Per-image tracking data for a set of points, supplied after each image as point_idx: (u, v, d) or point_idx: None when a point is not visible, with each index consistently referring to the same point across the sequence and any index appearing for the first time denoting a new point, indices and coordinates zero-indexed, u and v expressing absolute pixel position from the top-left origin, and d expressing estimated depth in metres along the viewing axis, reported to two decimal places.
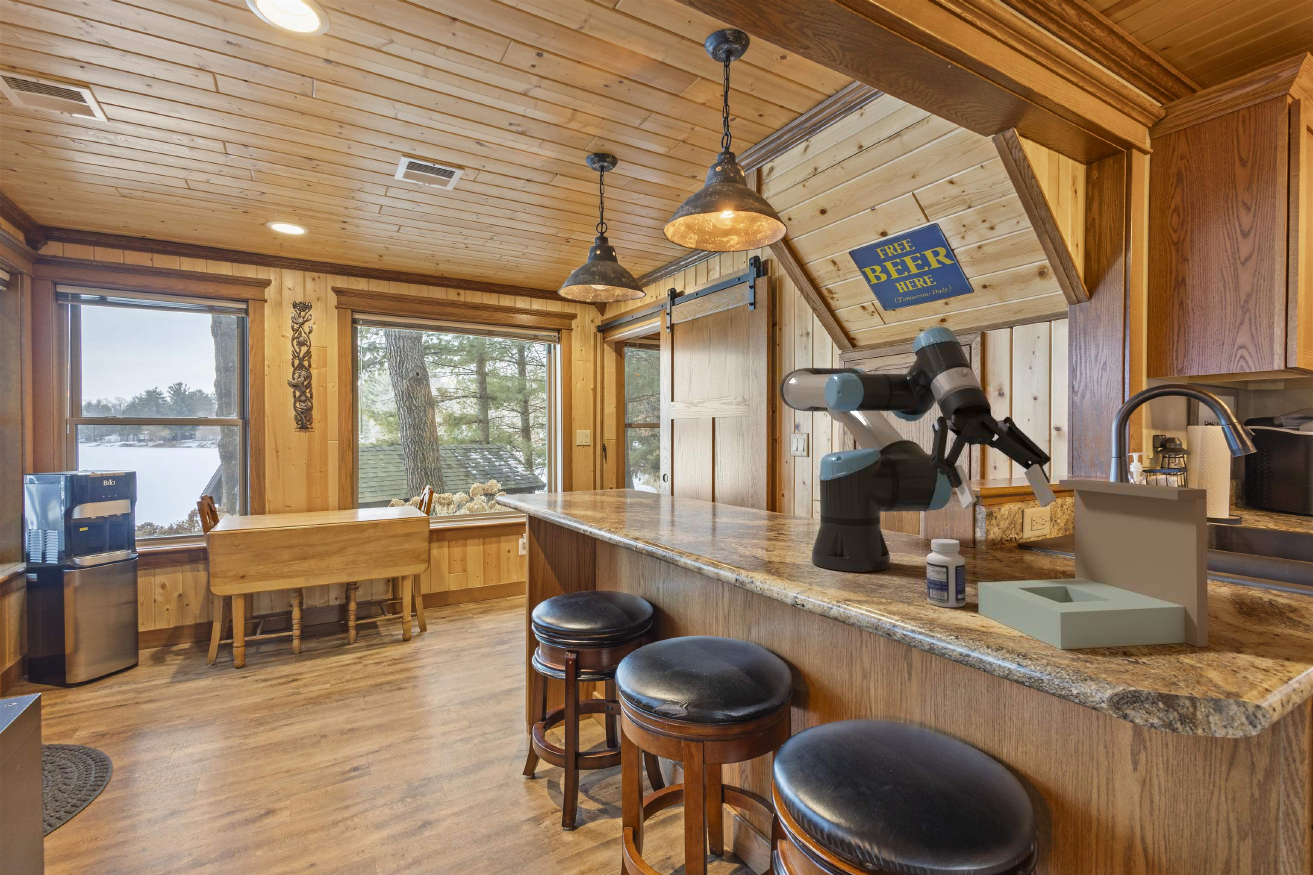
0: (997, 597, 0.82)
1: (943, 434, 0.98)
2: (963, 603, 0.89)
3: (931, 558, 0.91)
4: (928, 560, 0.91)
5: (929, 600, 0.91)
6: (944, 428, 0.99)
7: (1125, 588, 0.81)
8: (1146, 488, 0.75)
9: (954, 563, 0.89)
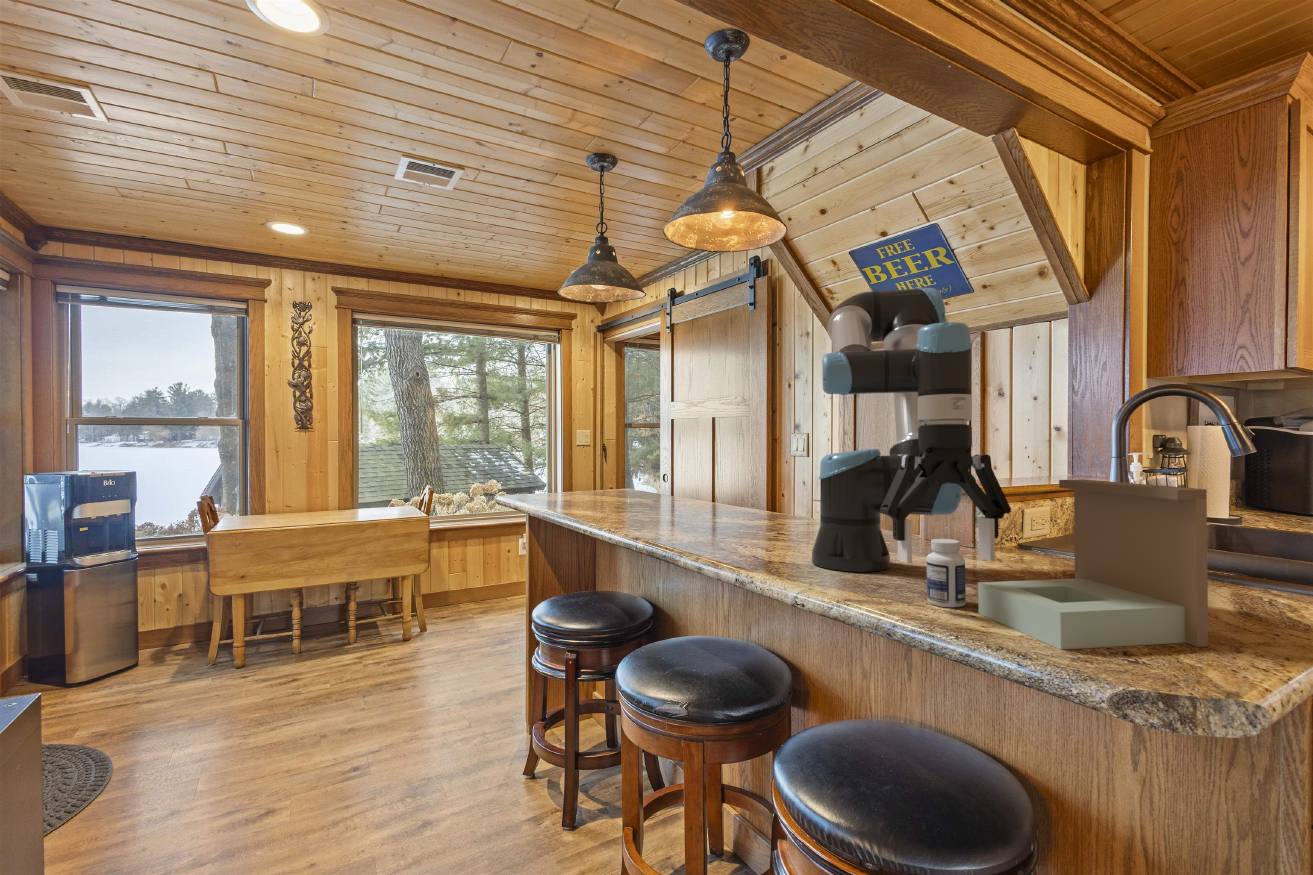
0: (997, 597, 0.82)
1: (905, 480, 0.89)
2: (963, 603, 0.89)
3: (931, 558, 0.91)
4: (928, 560, 0.91)
5: (929, 600, 0.91)
6: (909, 471, 0.89)
7: (1125, 588, 0.81)
8: (1146, 488, 0.75)
9: (954, 563, 0.89)
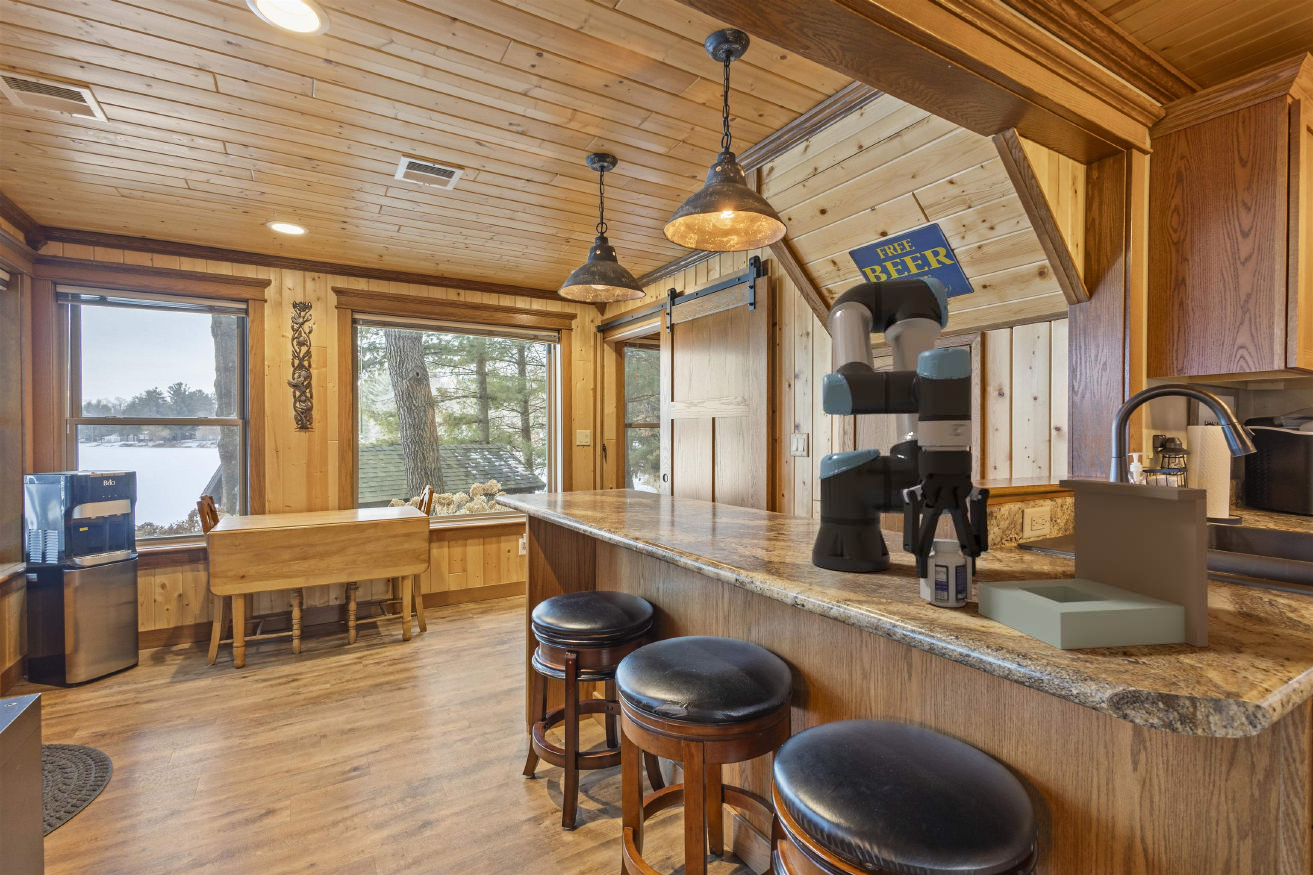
0: (997, 597, 0.82)
1: (915, 515, 0.89)
2: (963, 603, 0.89)
3: None
4: None
5: None
6: (916, 505, 0.89)
7: (1125, 588, 0.81)
8: (1146, 488, 0.75)
9: (954, 563, 0.89)
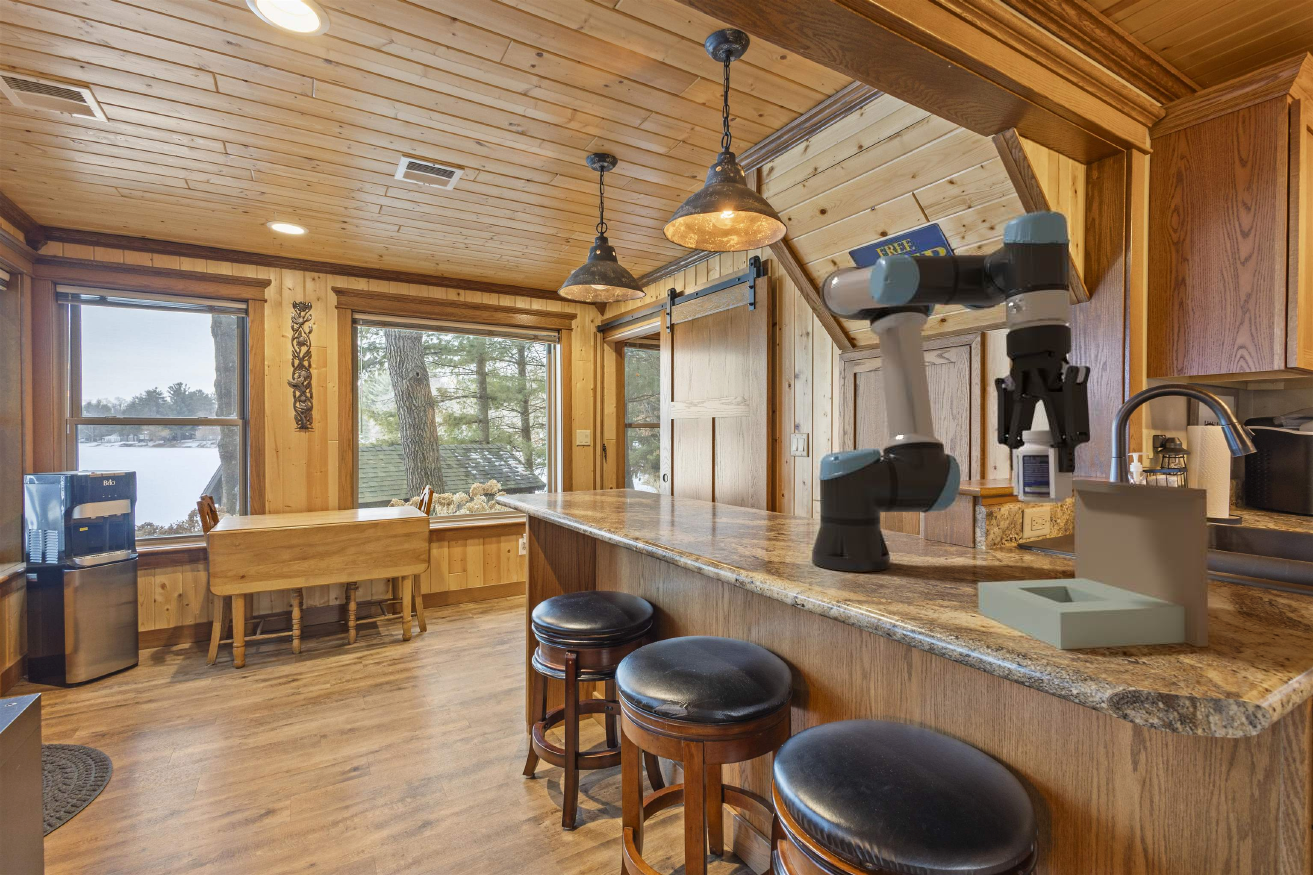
0: (997, 597, 0.82)
1: (1000, 404, 0.86)
2: (1034, 498, 0.79)
3: None
4: None
5: None
6: (1000, 394, 0.86)
7: (1125, 588, 0.81)
8: (1146, 488, 0.75)
9: (1021, 452, 0.81)
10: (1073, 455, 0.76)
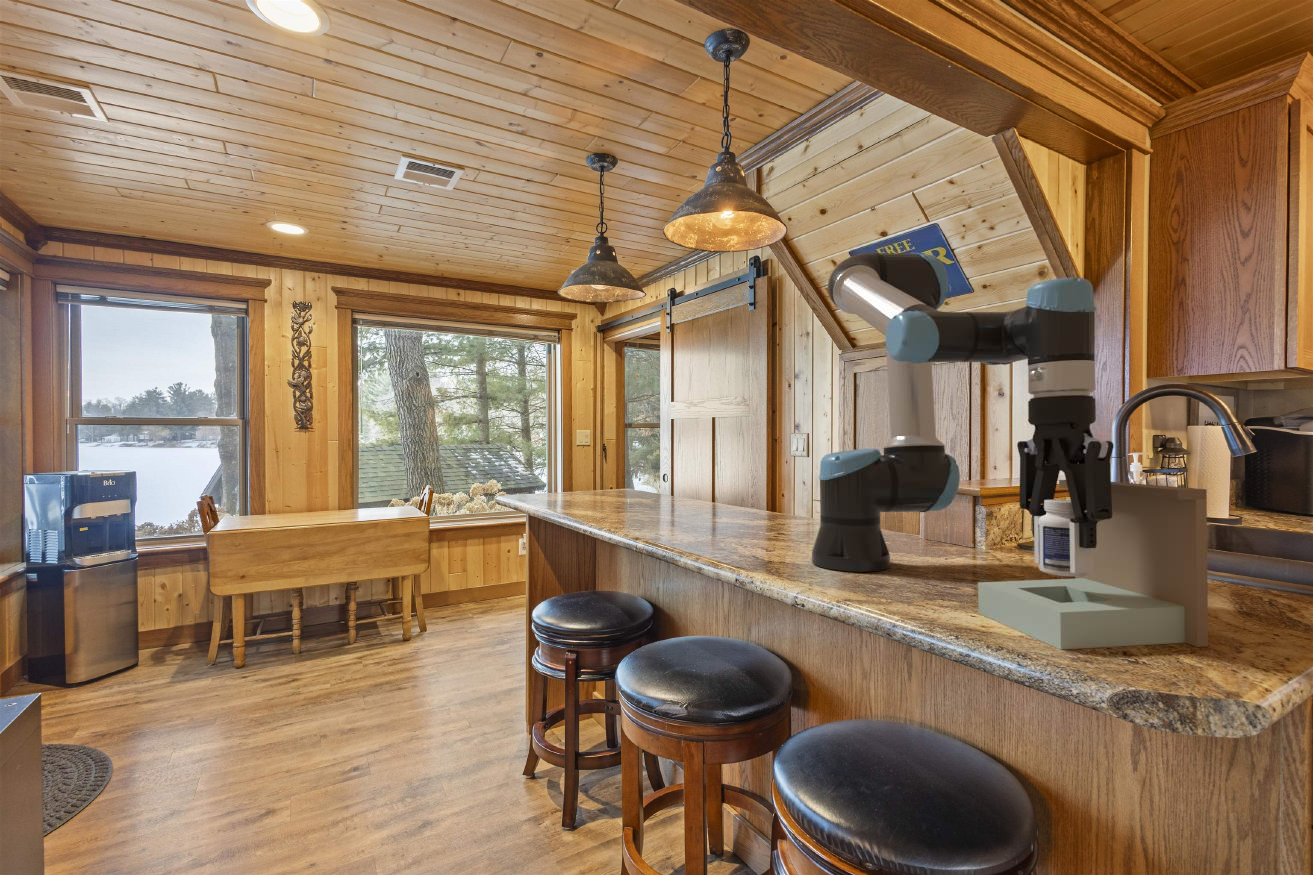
0: (997, 597, 0.82)
1: (1022, 468, 0.85)
2: (1054, 571, 0.78)
3: None
4: None
5: None
6: (1023, 458, 0.85)
7: (1125, 588, 0.81)
8: (1146, 488, 0.75)
9: (1042, 522, 0.79)
10: (1095, 530, 0.75)
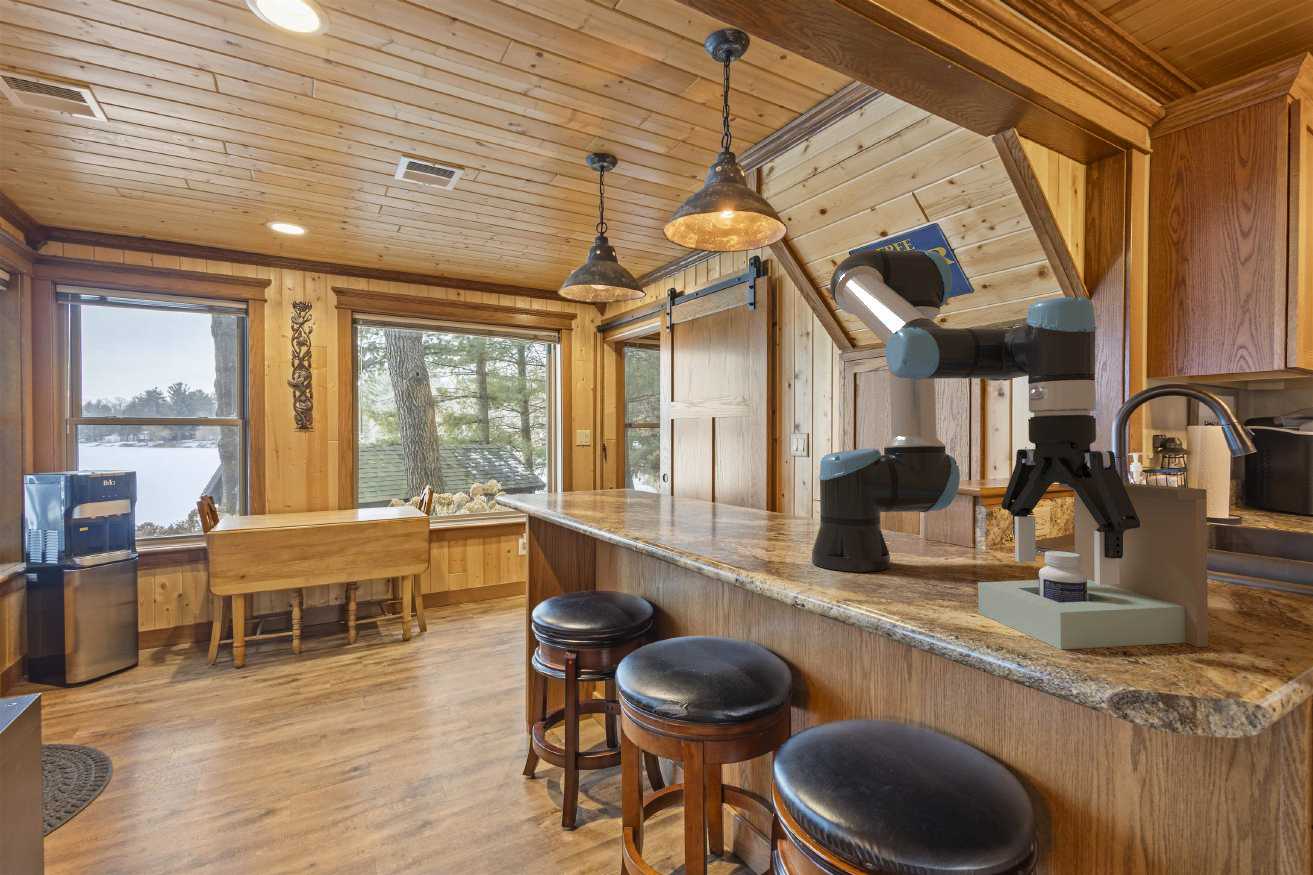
0: (997, 597, 0.82)
1: (1014, 475, 0.86)
2: None
3: None
4: None
5: None
6: (1018, 466, 0.86)
7: (1125, 588, 0.81)
8: (1146, 488, 0.75)
9: (1042, 575, 0.79)
10: (1121, 540, 0.71)
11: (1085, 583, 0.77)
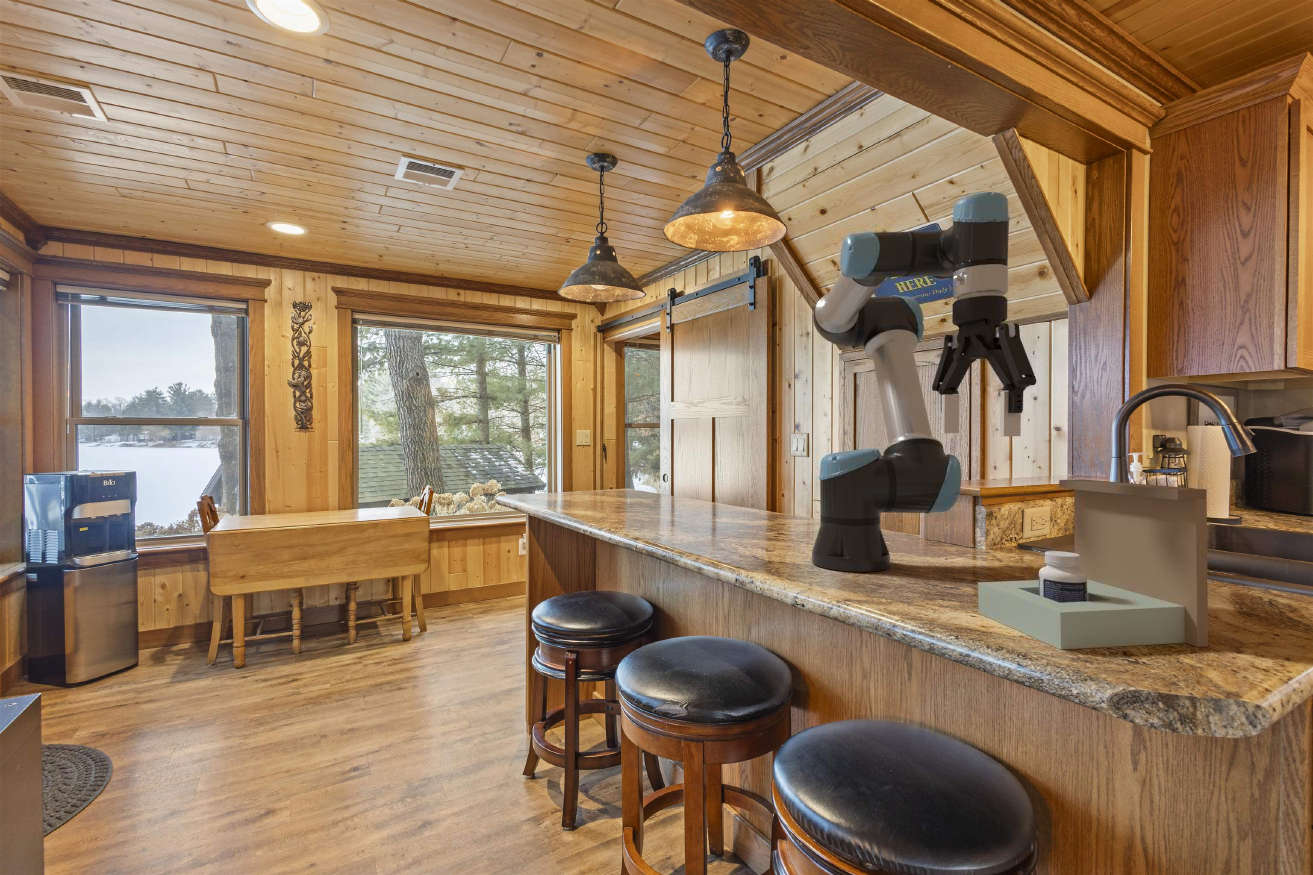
0: (997, 597, 0.82)
1: (942, 358, 0.99)
2: None
3: None
4: None
5: None
6: (945, 350, 0.98)
7: (1125, 588, 0.81)
8: (1146, 488, 0.75)
9: (1042, 575, 0.79)
10: (1021, 397, 0.84)
11: (1085, 583, 0.77)
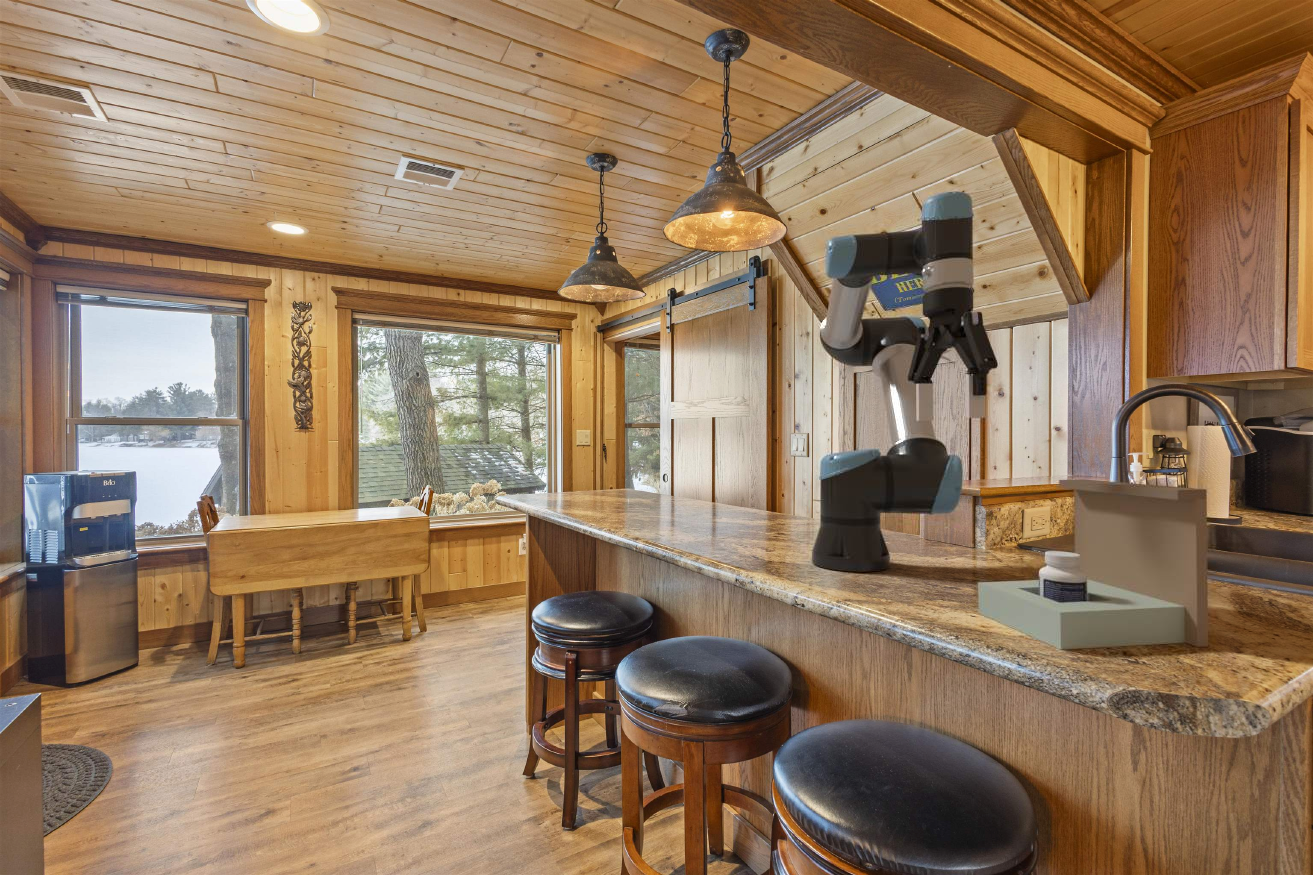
0: (997, 597, 0.82)
1: (916, 349, 1.04)
2: None
3: None
4: None
5: None
6: (918, 341, 1.03)
7: (1125, 588, 0.81)
8: (1146, 488, 0.75)
9: (1042, 575, 0.79)
10: (985, 380, 0.89)
11: (1085, 583, 0.77)
